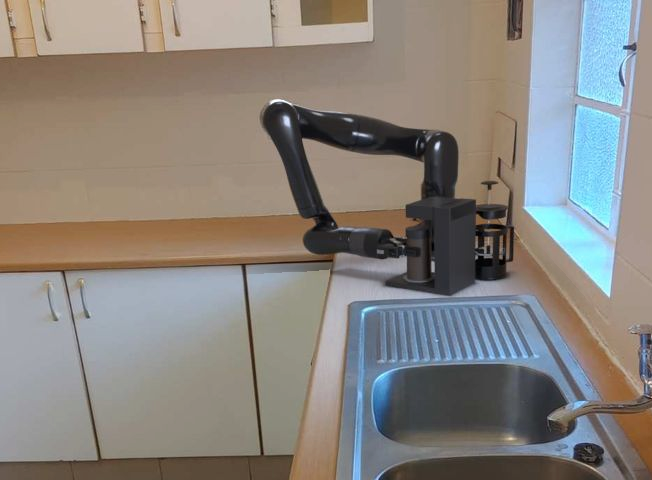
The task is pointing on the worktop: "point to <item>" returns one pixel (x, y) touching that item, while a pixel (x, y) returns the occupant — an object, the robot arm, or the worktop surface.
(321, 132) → the robot arm
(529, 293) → the worktop surface
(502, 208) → the french press
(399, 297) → the worktop surface
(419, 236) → the brown travel mug
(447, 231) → the coffee maker
